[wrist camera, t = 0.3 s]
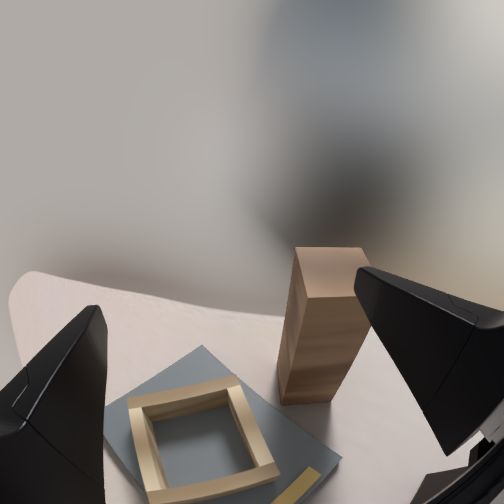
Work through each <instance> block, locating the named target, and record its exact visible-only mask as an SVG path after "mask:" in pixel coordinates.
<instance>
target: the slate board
mask: <svg viewBox="0 0 504 504" xmlns="http://www.w3.org/2000/svg"><path fill="white" fill-rule="evenodd" d="M230 375H234V374H233V373H232V372H231V371H230V370H229V369H228V368H227V367H226V366H224V365H223V364H222V363H221V362H220V361H219V360H218V359H217V358H216V357H214V356H213V355H212V354H211V353H210V352H209V351H208V350H207V349H206V348H205V347H204V346H203V345H201V346H199V347H198V348H196V349H195V350H193V351H192V352H190V353H189V354H187V355H186V356H184V357H183V358H181V359H180V360H178V361H177V362H175V363H174V364H172V365H171V366H169V367H168V368H166V369H165V370H163V371H162V372H160V373H158V374H157V375H155V376H154V377H152V378H151V379H149V380H148V381H146V382H144V383H143V384H141V385H140V386H138V387H137V388H135V389H133V390H132V391H130V392H129V393H127V394H125V395H124V396H122V397H120V398H119V399H117V400H116V401H114V402H112V403H111V404H109V405H107V406H106V407H104V431H103V435H104V436H105V438H106V439H107V441H108V443H109V444H110V446H111V447H112V449H113V450H114V451H115V453H116V454H117V456H118V457H119V459H120V460H121V461H122V463H123V464H124V466H125V467H126V468H127V470H128V471H129V472H130V474H131V475H132V476H133V477H134V479H135V480H136V481H137V483H138V484H139V485H140V486H141V487H142V489H143V490H144V491H145V492H146V489H145V486H144V482H143V478H142V474H141V470H140V466H139V462H138V457H137V453H136V448H135V443H134V438H133V433H132V428H131V422H130V416H129V410H128V404H127V397H133V396H139V395H145V394H151V393H156V392H161V391H166V390H171V389H176V388H181V387H185V386H190V385H194V384H199V383H203V382H207V381H211V380H215V379H219V378H223V377H226V376H230ZM237 378H238V377H237ZM238 381H239V383H240V385H241V388H242V390H243V393H244V395H245V397H246V400H247V402H248V404H249V407H250V409H251V411H252V413H253V416H254V418H255V420H256V423H257V425H258V427H259V429H260V432H261V434H262V436H263V438H264V440H265V442H266V445H267V447H268V449H269V451H270V453H271V455H272V457H273V460H274V462H275V464H276V466H277V468H278V470H279V472H280V476H279V477H278V478H277V479H276V481H273V482H270V483H267V484H264V485H261V486H258V487H255V488H252V489H248V490H245V491H241V492H238V493H234V494H231V495H227V496H223V497H219V498H215V499H210V500H206V501H201V502H196V503H190V504H301V503H302V502H303V501H304V500H305V499H306V498H307V497H308V496H309V495H310V494H311V493H312V491H313V490H314V489H315V488H316V487H317V486H318V485H319V484H320V483H321V482H322V481H323V480H324V479H325V477H326V476H327V475H328V474H329V473H330V472H331V471H332V469H333V468H334V467H335V466H336V465H337V464H338V462H339V461H340V460H341V459H342V458H343V457H342V456H340V455H339V454H337V453H336V452H334V451H333V450H331V449H330V448H328V447H327V446H325V445H324V444H322V443H321V442H320V441H318V440H317V439H315V438H314V437H313V436H311V435H310V434H308V433H307V432H306V431H304V430H303V429H302V428H300V427H299V426H298V425H296V424H295V423H294V422H292V421H291V420H290V419H288V418H287V417H286V416H284V415H283V414H282V413H281V412H279V411H278V410H277V409H275V408H274V407H273V406H272V405H270V404H269V403H268V402H267V401H265V400H264V399H263V398H262V397H261V396H259V395H258V394H257V393H256V392H255V391H253V390H252V389H251V388H250V387H249V386H247V385H246V384H245V383H244V382H243V381H242V380H240V379H239V378H238ZM152 425H153V429H154V433H155V438H156V442H157V446H158V450H159V454H160V457H161V461H162V465H163V468H164V472H165V475H166V479H167V482H168V485H169V488H175V487H181V486H187V485H192V484H197V483H201V482H206V481H210V480H215V479H219V478H223V477H226V476H230V475H234V474H237V473H241V472H244V471H248V470H251V469H254V468H255V467H254V465H253V463H252V461H251V458H250V456H249V454H248V451H247V449H246V447H245V444H244V442H243V440H242V437H241V435H240V432H239V430H238V427H237V425H236V422H235V420H234V417H233V415H232V412H231V410H230V407H229V405H226V406H222V407H218V408H214V409H210V410H206V411H202V412H198V413H194V414H189V415H185V416H180V417H175V418H170V419H165V420H159V421H154V422H152ZM146 494H147V493H146Z"/></svg>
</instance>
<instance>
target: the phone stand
mask: <svg viewBox="0 0 504 504" xmlns="http://www.w3.org/2000/svg"><path fill="white" fill-rule="evenodd" d="M467 469H468V466H466V467H462V468H458V469H453V470H448V471H443V472H437V473H431V474H427V475H426V476H425V478H424V480H423V482H422V484H421V486H420V487H419V489H418V491H417V493H416V495H415V496H414V498H413V500H412V501H411V503H410V504H423V503H425V502H426V501H427V500H429V499H430V498H432V497H433V496H435V495H436V494H437V493H439V492H440V491H442V490H443V489H444V488H446V487H447V486H448V485H450V484H451V483H452V482H453V481H455V480H456V479H457V478H458V477H460V476H461V475H462V474H463V473H465V472H466V471H467Z"/></svg>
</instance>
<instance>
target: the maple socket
mask: <svg viewBox="0 0 504 504" xmlns="http://www.w3.org/2000/svg"><path fill="white" fill-rule="evenodd" d="M127 404H128V410H129V416H130V422H131V428H132V433H133V438H134V443H135V448H136V453H137V457H138V462H139V466H140V470H141V474H142V478H143V482H144V486H145V489H146V493H147V496H148V500H149V503H150V504H190V503H196V502H201V501H206V500H210V499H215V498H219V497H223V496H227V495H231V494H234V493H238V492H241V491H245V490H248V489H252V488H255V487H258V486H261V485H264V484H267V483H270V482H273V481H276V479H277V478H278V477H279V476H280V472H279V470H278V468H277V466H276V464H275V462H274V460H273V457H272V455H271V453H270V451H269V449H268V447H267V445H266V442H265V440H264V438H263V436H262V434H261V432H260V429H259V427H258V425H257V423H256V420H255V418H254V416H253V413H252V411H251V409H250V407H249V404H248V402H247V400H246V397H245V395H244V393H243V390H242V388H241V385H240V383H239V381H238V378H237V376H236V374H234V375H230V376H226V377H223V378H219V379H215V380H211V381H207V382H203V383H199V384H194V385H190V386H185V387H181V388H176V389H171V390H166V391H161V392H156V393H151V394H145V395H139V396H133V397H127ZM226 405H229V407H230V410H231V412H232V415H233V417H234V420H235V422H236V425H237V427H238V430H239V432H240V435H241V437H242V440H243V442H244V444H245V447H246V449H247V451H248V454H249V456H250V458H251V461H252V463H253V465H254V467H255V468H254V469H251V470H248V471H244V472H241V473H237V474H234V475H230V476H226V477H223V478H219V479H215V480H210V481H206V482H201V483H197V484H192V485H187V486H181V487H175V488H169V485H168V482H167V479H166V475H165V472H164V468H163V465H162V461H161V457H160V454H159V450H158V446H157V442H156V438H155V433H154V429H153V425H152V422H154V421H159V420H165V419H170V418H175V417H180V416H185V415H189V414H194V413H198V412H202V411H206V410H210V409H214V408H218V407H222V406H226Z"/></svg>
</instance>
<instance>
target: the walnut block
mask: <svg viewBox="0 0 504 504" xmlns="http://www.w3.org/2000/svg"><path fill="white" fill-rule="evenodd" d="M364 266H370V264H369V262H368V260H367V258H366V257H365V254H364V253H363V251H362V249H361V248H334V247H333V248H332V247H331V248H330V247H295V254H294V261H293V268H292V275H291V282H290V288H289V295H288V302H287V308H286V314H285V320H284V326H283V332H282V338H281V344H280V350H279V355H278V361H277V368H278V378H279V389H280V400H281V405H293V404H306V403H317V402H327V401H331V400H332V399H333V397H334V395H335V394H336V392H337V390H338V388H339V387H340V385H341V383H342V381H343V380H344V378H345V376H346V374H347V372H348V371H349V369H350V367H351V365H352V363H353V361H354V359H355V358H356V356H357V354H358V352H359V350H360V348H361V346H362V344H363V342H364V340H365V338H366V336H367V334H368V331H369V329H370V327H371V324H370V322H369V320H368V318H367V316H366V314H365V312H364V310H363V308H362V306H361V304H360V302H359V300H358V299H357V297H356V295H355V292H354V282H355V277H356V272H357V269H358V268H359V267H364ZM370 267H371V266H370Z"/></svg>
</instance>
